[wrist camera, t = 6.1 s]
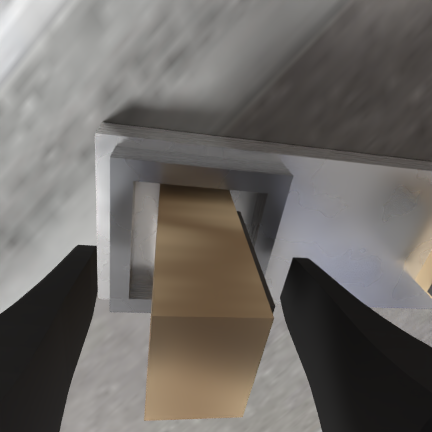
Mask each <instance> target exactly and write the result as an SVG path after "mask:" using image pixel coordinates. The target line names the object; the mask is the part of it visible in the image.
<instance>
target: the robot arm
mask: <svg viewBox="0 0 432 432" xmlns="http://www.w3.org/2000/svg"><path fill="white" fill-rule="evenodd" d="M97 292H98V286H97V246H88V245H77V246H76V247H75V248H74V249H73V250H72V251H71V252H70V253H69V254H68V255H67V256H66V257H65V258H64V259H63V260H62V261H61V262H60V263H59V264H58V265H57V266H56V267H55V268H54V269H53V270H52V271H51V272H50V273H49V274H48V275H47V276H46V277H45V278H44V279H42V280H41V281H40V282H39V283H38V284H37V285H36V286H35V287H34V288H32V289H31V290H30V291H29V292H28V293H26V294H25V295H24V296H23V297H22V298H20V299H19V300H18V301H17V302H15V303H14V304H13V305H12V306H10V307H9V308H8V309H6V310H5V311H4V312H2V313H1V314H0V432H59V431H60V426H61V421H62V417H63V413H64V408H65V404H66V400H67V395H68V391H69V387H70V384H71V380H72V377H73V374H74V371H75V368H76V365H77V362H78V359H79V356H80V353H81V350H82V347H83V344H84V341H85V338H86V335H87V332H88V329H89V326H90V323H91V320H92V316H93V312H94V307H95V302H96V297H97ZM280 300H281V305H282V309H283V313H284V317H285V321H286V324H287V327H288V329H289V332H290V335H291V337H292V340H293V342H294V345H295V347H296V350H297V353H298V355H299V358H300V360H301V363H302V365H303V368H304V370H305V373H306V376H307V378H308V381H309V384H310V387H311V391H312V394H313V398H314V401H315V405H316V409H317V412H318V416H319V420H320V424H321V428H322V432H432V347H430V346H429V345H427V344H425V343H423V342H422V341H420V340H418V339H416V338H414V337H413V336H411V335H409V334H408V333H406V332H404V331H403V330H401V329H400V328H398V327H397V326H395V325H394V324H392V323H391V322H389V321H388V320H386V319H385V318H383V317H382V316H380V315H379V314H377V313H376V312H375V311H373V310H372V309H371V308H369V307H368V306H367V305H365V304H364V303H363V302H361V301H360V300H359V299H357V298H356V297H355V296H354V295H352V294H351V293H350V292H349V291H348V290H346V289H345V288H344V287H343V286H341V285H340V284H339V283H338V282H337V281H336V280H334V279H333V278H332V277H331V276H330V275H328V274H327V273H326V272H325V271H324V270H323V269H321V268H320V267H319V266H318V265H316V264H315V263H314V262H313V261H311V260H310V259H309V258H299V257H293V259H292V262H291V265H290V268H289V271H288V274H287V277H286V280H285V283H284V286H283V289H282V292H281V295H280Z"/></svg>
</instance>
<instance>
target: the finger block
mask: <svg viewBox="0 0 432 432" xmlns="http://www.w3.org/2000/svg"><path fill="white" fill-rule="evenodd" d="M274 308H275V304H274V301H273V299H272V296H271V293H270V290H269V288H268V285H267V282H266V280H265V277H264V274H263V271H262V269H261V266H260V263H259V261H258V258H257V255H256V252H255V250H254V247H253V244H252V242H251V239H250V236H249V234H248V231H247V228H246V225H245V223H244V220H243V217H242V215H241V212H240V211H236V208H235V205H234V202H233V199H232V197H231V194H230V191H229V190H225V189H214V188H203V187H193V186H182V185H171V184H160V192H159V206H158V219H157V233H156V247H155V261H154V276H153V291H152V307H151V323H150V338H149V354H148V369H147V385H146V400H145V416H144V421H148V420H176V419H204V418H231V417H243V414H244V411H245V408H246V405H247V401H248V398H249V395H250V392H251V389H252V386H253V383H254V379H255V376H256V373H257V370H258V367H259V364H260V361H261V357H262V354H263V351H264V348H265V345H266V342H267V339H268V336H269V332H270V329H271V326H272V323H273V320H274V317H273V312H274Z"/></svg>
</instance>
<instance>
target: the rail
mask: <svg viewBox="0 0 432 432" xmlns="http://www.w3.org/2000/svg"><path fill="white" fill-rule="evenodd" d="M95 163H96V214H97V265H98V299H110V312H131V313H151V307H152V291H153V276H154V261H155V247H156V233H157V219H158V206H159V192H160V184H171V185H182V186H193V187H203V188H214V189H225V190H229V191H230V194H231V197H232V199H233V202H234V205H235V208H236V211H240V212H241V215H242V217H243V220H244V223H245V225H246V228H247V231H248V234H249V236H250V239H251V242H252V244H253V247H254V250H255V252H256V255H257V258H258V261H259V263H260V266H261V269H262V271H263V274H264V277H265V280H266V282H267V285H268V288H269V290H270V293H271V296H272V299H273V301H274V304H281V300H280V295H281V292H282V289H283V286H284V283H285V280H286V277H287V274H288V271H289V268H290V265H291V262H292V259H293V257H299V258H309V259H310V260H311V261H313V262H314V263H315V264H316V265H318V266H319V267H320V268H321V269H323V270H324V271H325V272H326V273H327V274H328V275H330V276H331V277H332V278H333V279H334V280H336V281H337V282H338V283H339V284H340V285H341V286H343V287H344V288H345V289H346V290H348V291H349V292H350V293H351V294H352V295H354V296H355V297H356V298H357V299H359V300H360V301H361V302H363V303H364V304H365V305H367V306H368V307H382V308H416V309H432V298H431V297H430V296H429V295H428V294H427V293H426V292H425V291H424V290H423V289H422V288H421V287H420V286H419V284H418V283H417V282H416V281H415V279H416V277H417V275H418V273H419V272H420V270H421V268H422V266H423V265H424V263H425V261H426V259H427V258H428V256H429V254H430V252H431V250H432V162H430V161H422V160H414V159H405V158H397V157H388V156H380V155H372V154H363V153H355V152H347V151H338V150H330V149H322V148H313V147H305V146H297V145H288V144H280V143H272V142H263V141H255V140H247V139H238V138H230V137H221V136H213V135H205V134H196V133H188V132H180V131H171V130H163V129H155V128H146V127H138V126H130V125H121V124H113V123H105V122H102V123H101V125H100V126H99V128H98V129H97V131H96V132H95Z"/></svg>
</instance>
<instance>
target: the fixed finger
mask: <svg viewBox="0 0 432 432" xmlns="http://www.w3.org/2000/svg"><path fill="white" fill-rule="evenodd" d="M415 281H416V282H417V283H418V284H419V286H420V287H421V288H422V289H423V290H424V291H425V292H426V293H427V294H428V295H429V296H430V297H431V298H432V250H431V252H430V254H429V256H428V258H427V259H426V261H425V263H424V265H423V266H422V268H421V270H420V272H419V273H418V275H417V277H416V279H415Z"/></svg>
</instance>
